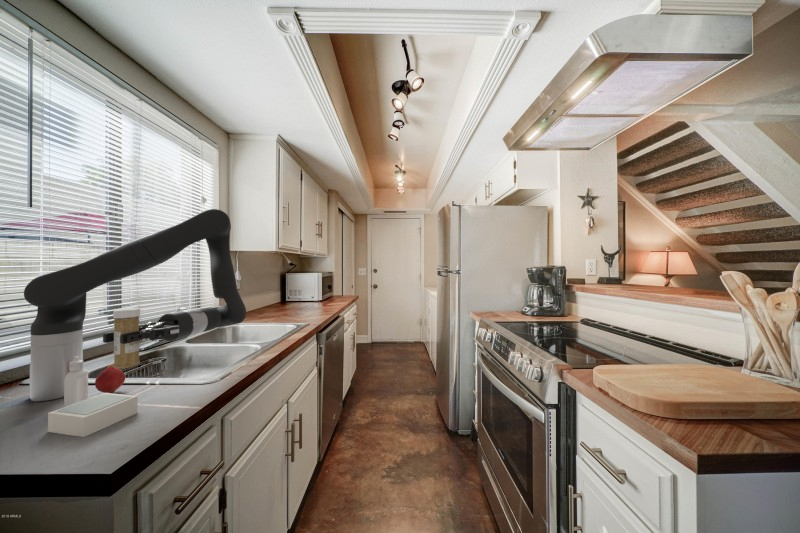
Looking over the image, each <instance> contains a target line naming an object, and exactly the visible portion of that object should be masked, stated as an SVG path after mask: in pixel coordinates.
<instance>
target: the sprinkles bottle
mask: <svg viewBox="0 0 800 533" xmlns="http://www.w3.org/2000/svg"><path fill="white" fill-rule="evenodd" d="M112 311H113V313H112V318H113V321H114V322H113V324H114V326H113V332H114V342H113V356H114V358H113V359H114V363H113V365H114V368H116V369H120V370H122V369H128V368H132V367H135V366H137V365H139V364H140V363H141V360H140V341H136V342H131V343H127V344H121V343H120V335H121V334H125V333H130V332H135V331H139V324H140V316H141V309H140V308H139V307H126V308H118V309H114V310H112Z"/></svg>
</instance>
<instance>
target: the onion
mask: <svg viewBox="0 0 800 533" xmlns="http://www.w3.org/2000/svg"><path fill="white" fill-rule="evenodd" d="M94 381H95V382H94V385H95V388H96V389H97V391H99V392H100V393H102V394H103V393H113V394H115V392H116V391H117V390H118V389H119V388H120V387H122V386H123V384H125V381H126V374H125V373H124V372H123V370H122V369H116V368H114V363H113V364H109V365H108V366H107V367H106V368H105V369H104V370H102V371H101V372H100V373H99V374H98V375H97V376H96V378H95V380H94Z"/></svg>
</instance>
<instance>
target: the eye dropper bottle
mask: <svg viewBox="0 0 800 533" xmlns="http://www.w3.org/2000/svg"><path fill="white" fill-rule="evenodd" d="M84 362H85V361H84V359H83V360H80V359H79V356H75V357H74V360H73V361H72V362H70V363H69V371H70V372H69V373H68V374H67V375H66V376H65V380H64V397H63V398H64V400H63V407H66V406H69V405H72V404H75V403H78V402H80V401H83V400H86V399H89V371H88V369H86V368H84V367H85V366H84Z"/></svg>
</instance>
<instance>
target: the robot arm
mask: <svg viewBox="0 0 800 533" xmlns="http://www.w3.org/2000/svg"><path fill="white" fill-rule="evenodd" d="M231 223H232V222H231V220H230V217H229V215H228V214H227V213H226V212H225V211H223V210H221V209H217V208H209V209H206V210H204V211H201V212H200V213H198V214H196V215H194V216H191V217H190V218H188V219H186V220H184V221H182V222H179V223H177V224H175V225H172V226H170V227H166V228H164V229H161V230H158V231H156V232H152V233H151V234H147V235H145V236H142V237H139V238H136V239H133V240H131V241H129V242H126V243H124V244H121V245H120V246H116V247H115V248H112V249H110V250H108V251H106V252H104V253H102V254H99V255H97V256H95V257H93V258H90V259H89V260H87V261H84V262H81V263H78V264H76V265H75V264H74V265H72V266H70V267H66V268H63V269H59V270H56V271H52V272H50V273H46V274H43V275H39V276H37V277H35V278H33V279H32V280H31V281H30V282H28V284H26V285H25V288H24V290H23V297H24V299H25V301H26V302H27V303H29V304H30V305H32V306H34V307H37V309H36V310H37V314H36V317H35V319H34V320H33V322H32V323H31V324H30V363H29V398H30V400H29V401H32V402H45V401H52V400H56V399H61V398H64V380H65V376H66V375H67V374H68V373H69V372H70V371H69V363H70V362H72V361H73V360H74V357H75V356H79V359H80V360H83V361H84V358H83V357H84V354H83V353H84V352H83V348H84V346H83V344H84V340H83V339H84V338H83V336H84V334H83V332H84V331H83V328H84V327H83V326H84V321H85V319H86V314H87V313H86V312H87V310H86V308H87V293H88V292H90V291H92V290H94V289H96V288H99V287H101V286H103V285H105V284H107V283H111V282H114V281H118V280H121V279H124V278H127V277H132V276H133V275H137V274H140V273H142V272H144V271H147V270H150V269H152V268H154V267H157V266H159V265H160V264H163V263H164V262H165V263H166V262H167V261H168V260H170V259H172V258H174V257H175V256H177V255H178V254H180V253H181V252H182V251H183V250H184V249H185V248H187V247H189V246H190V245H194V244H195V243H197V242H200V241H204V240H205V241H206V245H207V248H208V252H209V258H210V259H209V260H210V261H209V262H210V277H211V284H212V285H211V286H212V291H213V296H214V297H215V298H216V299H223V300H224V302H225V305H218V306H215V307H206V308H205V307H204V308H197V309H185V310H181V311H174V312H167V313H165V314H163V315H161V316H160V318H159V319H158V321H149V322H147V323H142V324H141V323H139V331H135V332H130V333H125V334H121V335H120V343H121V344H127V343H131V342H136V341H139V342H141V341H142V342H146V341H155V340H157V341H158V340H164V341H166V342H174V341H177V340H181V339H185V338H188V337H189V338H190V337H192V336H196V335H198V334H200V333H205V332H208V331H211V330H215V329H216V328H222V327H226V326H227V327H228V326H232V325H233V326H234V325H238V324H241V323H242V322H244V321H245V320H246V317H247V308H246V305H245V302H244V301H243V299H242V297H241V295H240V293H239V291H238V285H237V280H236V278H237V277H236V274H235V268H234V265H233V260H232V255H231V247H230V242H231V241H230V239H231V238H230V237H231V236H230V235H231V229H232V224H231ZM102 343H104V344H108V343H114V331H110V332H104V333H103V334H102Z"/></svg>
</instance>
